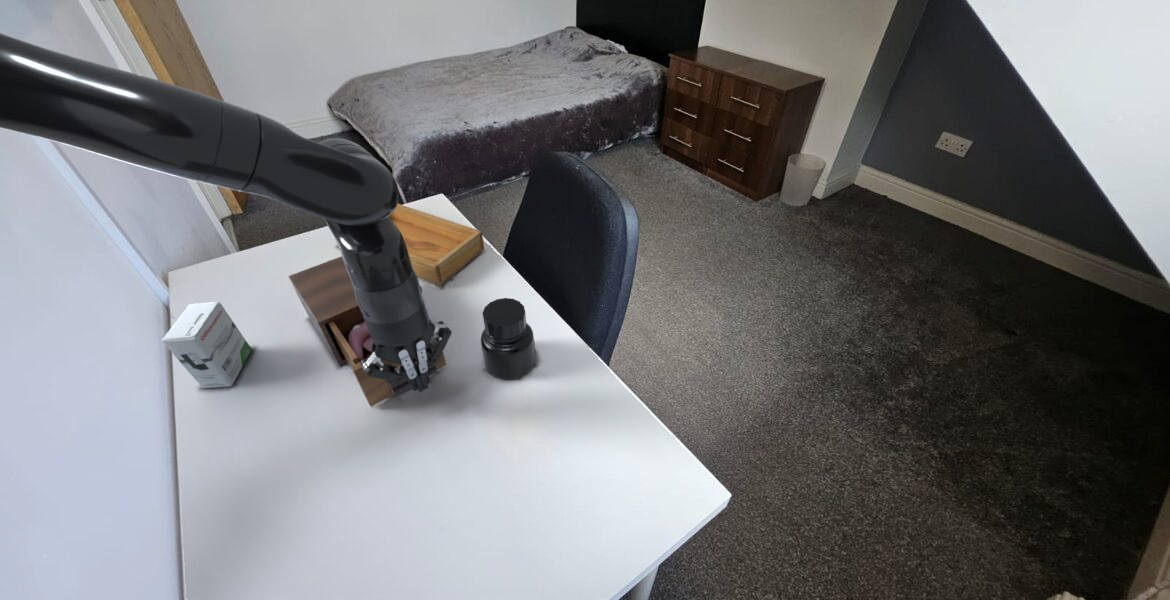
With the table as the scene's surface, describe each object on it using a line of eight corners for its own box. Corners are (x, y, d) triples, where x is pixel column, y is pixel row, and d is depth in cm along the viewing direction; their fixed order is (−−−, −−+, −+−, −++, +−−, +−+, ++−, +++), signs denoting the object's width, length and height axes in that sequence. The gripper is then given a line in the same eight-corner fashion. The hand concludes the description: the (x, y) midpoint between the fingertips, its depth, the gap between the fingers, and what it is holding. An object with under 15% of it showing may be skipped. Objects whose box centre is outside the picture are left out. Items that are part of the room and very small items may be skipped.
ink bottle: (543, 348, 86) (540, 299, 78) (528, 385, 79) (523, 336, 71) (493, 339, 87) (485, 289, 79) (474, 374, 81) (464, 325, 73)
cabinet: (417, 328, 89) (404, 285, 82) (339, 366, 82) (317, 322, 75) (383, 287, 98) (368, 246, 91) (309, 319, 90) (287, 276, 83)
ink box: (224, 350, 84) (189, 301, 76) (253, 349, 84) (221, 299, 76) (200, 389, 77) (158, 339, 70) (231, 387, 78) (193, 337, 70)
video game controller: (415, 347, 84) (402, 312, 86) (416, 341, 80) (402, 304, 82) (356, 367, 80) (343, 330, 81) (355, 361, 76) (341, 322, 77)
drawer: (460, 382, 78) (452, 346, 73) (383, 427, 72) (366, 391, 66) (409, 320, 89) (397, 285, 83) (337, 355, 82) (319, 318, 77)
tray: (338, 246, 109) (329, 225, 105) (387, 216, 119) (381, 196, 115) (440, 288, 98) (435, 267, 94) (485, 252, 108) (482, 231, 104)
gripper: (426, 266, 65) (448, 351, 76) (327, 308, 58) (368, 394, 70) (453, 294, 61) (472, 379, 72) (350, 342, 54) (389, 427, 65)
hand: (421, 386), depth 71 cm, fingers closed
